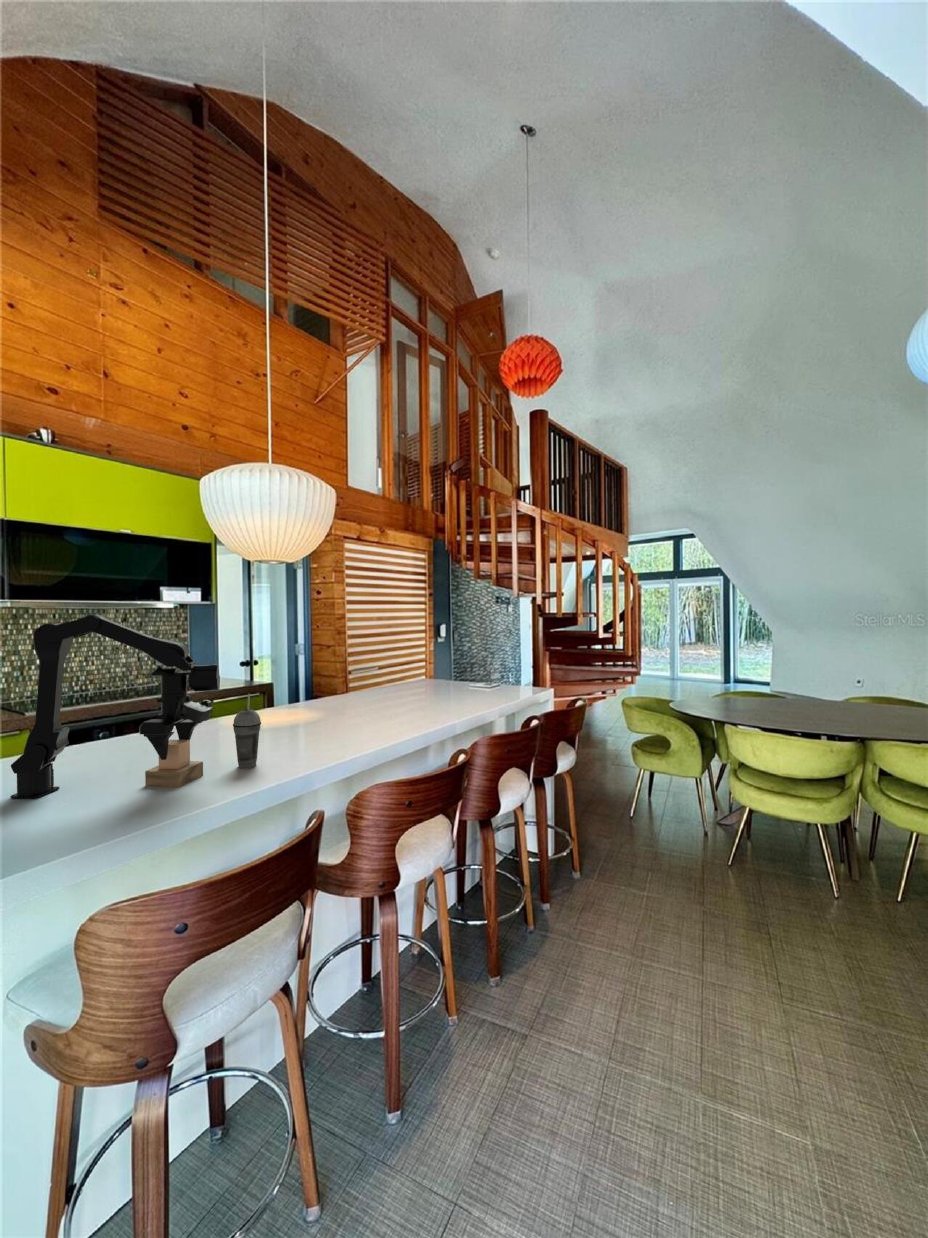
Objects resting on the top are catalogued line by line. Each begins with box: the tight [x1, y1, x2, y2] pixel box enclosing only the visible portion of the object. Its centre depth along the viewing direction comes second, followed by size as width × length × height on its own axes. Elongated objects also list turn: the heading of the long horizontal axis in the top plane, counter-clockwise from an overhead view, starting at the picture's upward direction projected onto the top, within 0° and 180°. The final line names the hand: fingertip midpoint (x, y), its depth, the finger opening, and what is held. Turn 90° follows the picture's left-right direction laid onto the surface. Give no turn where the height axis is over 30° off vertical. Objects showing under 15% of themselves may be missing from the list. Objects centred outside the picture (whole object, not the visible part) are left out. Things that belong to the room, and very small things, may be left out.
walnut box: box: [144, 760, 204, 788], centre depth 128 cm, size 9×9×4 cm
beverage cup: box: [232, 693, 262, 769], centre depth 140 cm, size 7×7×20 cm
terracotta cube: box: [158, 739, 191, 769], centre depth 128 cm, size 5×5×6 cm
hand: (174, 754), depth 128 cm, fingers open, 9 cm apart
